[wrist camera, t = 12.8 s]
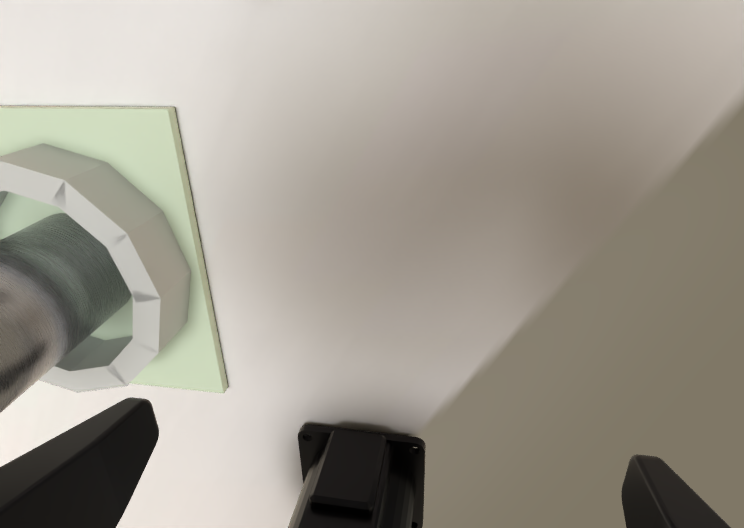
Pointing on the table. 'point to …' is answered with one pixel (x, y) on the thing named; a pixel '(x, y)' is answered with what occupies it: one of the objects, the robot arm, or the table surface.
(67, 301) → the metal bottle
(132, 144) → the ring plate
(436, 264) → the table surface
